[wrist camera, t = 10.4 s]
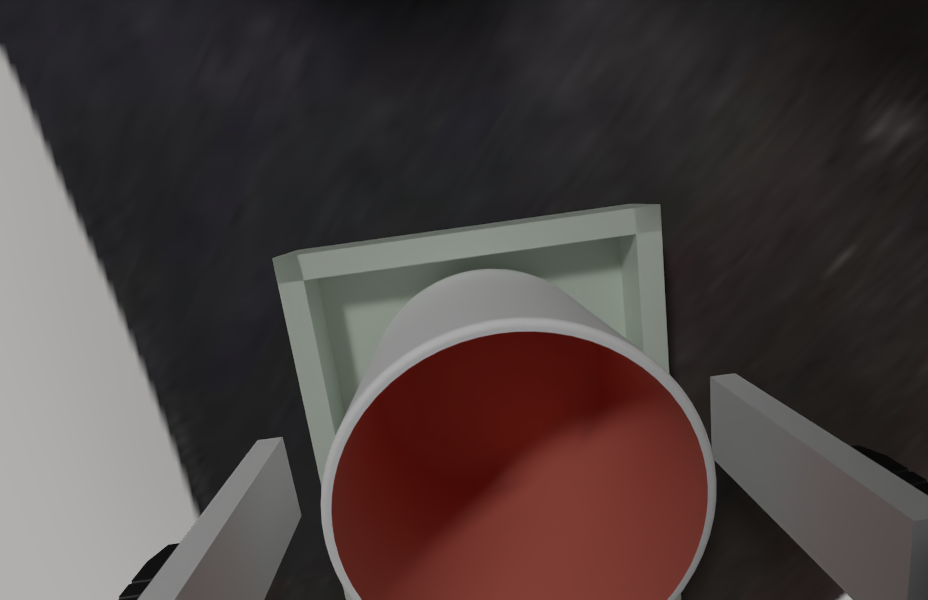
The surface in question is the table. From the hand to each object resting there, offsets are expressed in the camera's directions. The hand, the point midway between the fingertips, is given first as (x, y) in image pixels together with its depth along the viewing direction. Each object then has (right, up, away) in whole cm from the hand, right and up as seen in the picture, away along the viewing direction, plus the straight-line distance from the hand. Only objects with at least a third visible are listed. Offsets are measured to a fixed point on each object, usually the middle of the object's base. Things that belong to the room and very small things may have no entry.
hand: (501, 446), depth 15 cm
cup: (0, +1, +7) cm, 7 cm away
